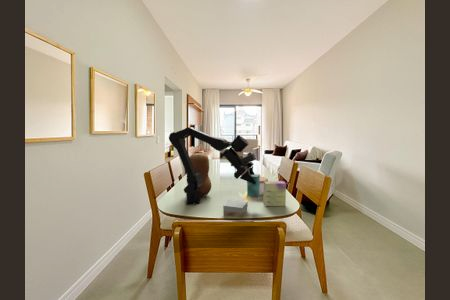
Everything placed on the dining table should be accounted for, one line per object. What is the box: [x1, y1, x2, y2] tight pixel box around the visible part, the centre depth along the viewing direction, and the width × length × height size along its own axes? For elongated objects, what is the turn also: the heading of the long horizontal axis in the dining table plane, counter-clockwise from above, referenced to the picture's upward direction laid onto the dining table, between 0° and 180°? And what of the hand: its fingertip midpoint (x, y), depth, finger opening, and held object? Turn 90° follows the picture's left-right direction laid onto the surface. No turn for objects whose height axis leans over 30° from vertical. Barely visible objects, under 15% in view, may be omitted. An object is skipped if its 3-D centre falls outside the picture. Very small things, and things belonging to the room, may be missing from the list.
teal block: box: [246, 173, 261, 198], centre depth 113 cm, size 5×5×10 cm
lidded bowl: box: [259, 176, 269, 196], centre depth 140 cm, size 13×13×11 cm
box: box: [263, 180, 287, 207], centre depth 120 cm, size 10×6×12 cm, turn 92°
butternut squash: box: [189, 153, 212, 198], centre depth 135 cm, size 14×13×25 cm
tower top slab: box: [222, 199, 249, 213], centre depth 109 cm, size 9×9×2 cm
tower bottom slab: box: [222, 207, 248, 218], centre depth 109 cm, size 9×9×2 cm
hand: (256, 182), depth 112 cm, fingers closed on teal block, 5 cm apart
